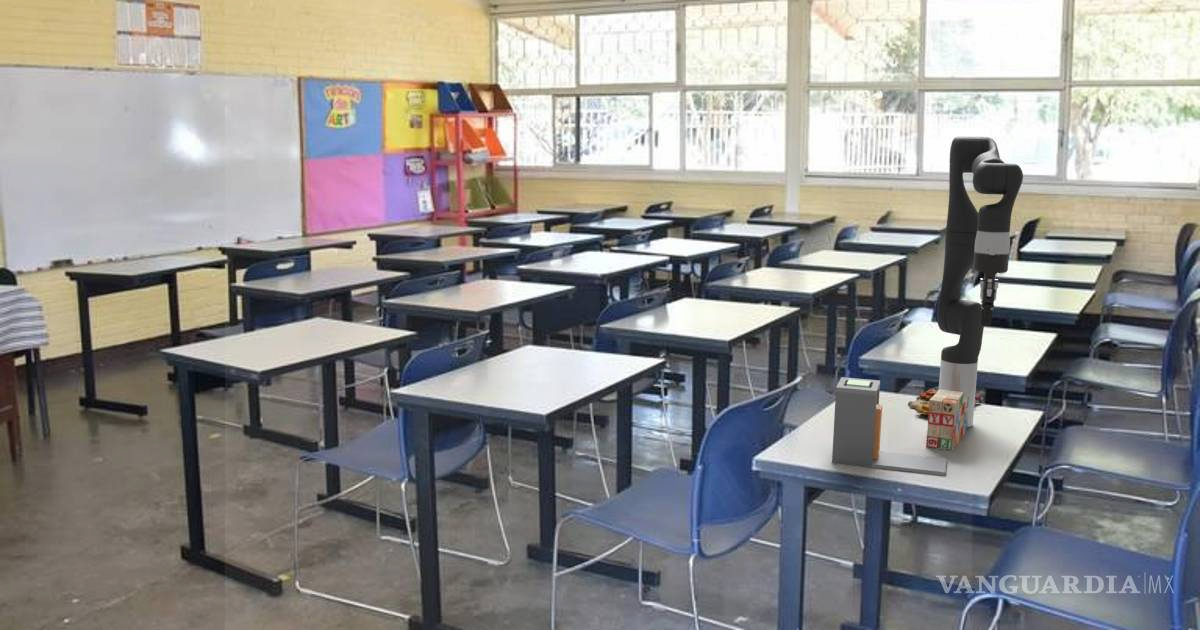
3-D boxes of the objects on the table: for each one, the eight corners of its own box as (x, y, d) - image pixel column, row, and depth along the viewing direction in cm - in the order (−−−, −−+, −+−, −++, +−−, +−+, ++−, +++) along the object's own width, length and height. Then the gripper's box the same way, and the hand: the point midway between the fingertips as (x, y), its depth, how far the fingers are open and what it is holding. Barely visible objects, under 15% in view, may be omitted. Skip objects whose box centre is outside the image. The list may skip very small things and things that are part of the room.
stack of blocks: (942, 427, 272) (945, 381, 270) (967, 430, 269) (970, 384, 267) (925, 447, 253) (929, 398, 251) (952, 451, 250) (955, 402, 248)
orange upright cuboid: (844, 450, 246) (847, 400, 244) (879, 454, 243) (882, 403, 241) (842, 455, 242) (845, 405, 239) (877, 459, 239) (881, 408, 237)
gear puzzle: (951, 422, 275) (952, 408, 274) (892, 414, 284) (893, 399, 283) (985, 399, 299) (985, 385, 299) (929, 392, 309) (930, 378, 308)
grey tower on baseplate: (837, 449, 250) (841, 377, 247) (946, 461, 241) (951, 386, 238) (831, 462, 239) (836, 387, 236) (945, 475, 231) (951, 397, 228)
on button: (847, 399, 244) (848, 379, 243) (869, 402, 242) (870, 381, 241) (845, 404, 239) (846, 383, 238) (867, 407, 238) (868, 385, 237)
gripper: (974, 247, 244) (968, 319, 247) (974, 253, 232) (968, 328, 235) (1008, 249, 242) (1002, 321, 245) (1010, 254, 229) (1004, 331, 232)
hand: (985, 325), depth 240 cm, fingers closed
